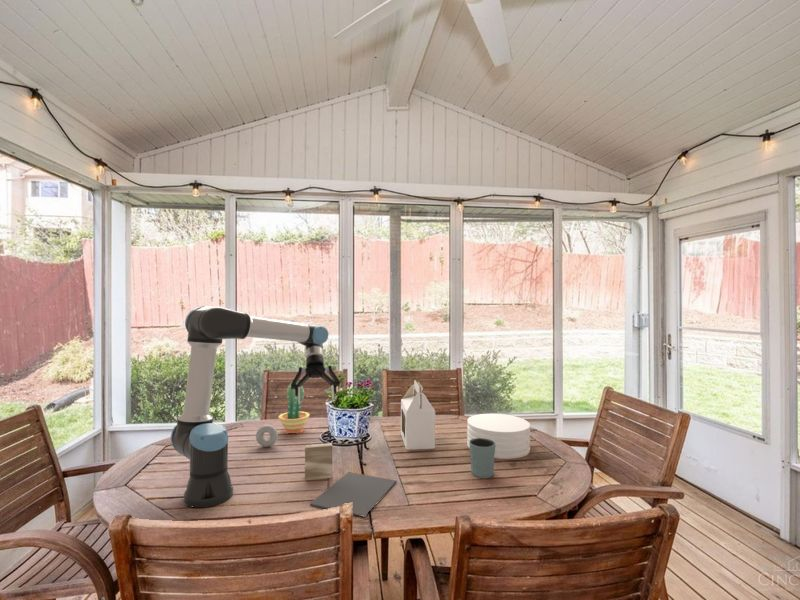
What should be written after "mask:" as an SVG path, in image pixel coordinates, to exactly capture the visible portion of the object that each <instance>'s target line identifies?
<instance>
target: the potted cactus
mask: <svg viewBox="0 0 800 600" xmlns="http://www.w3.org/2000/svg"><path fill="white" fill-rule="evenodd" d="M292 382H293V381H291V382H290V383H289V385H288V386H287V388H286V398H287V399H286V400H287V412H284V413H281V414H280V415H278V420H279V421H280V423H281V425H282V427H283V428H284V432H285V431H286V432H287V433H286V432H285V433H286V434H288V433H297V434H299V433H298V432H300V433H302V432H303V431H304V427H305V426H306V424H307V422H308V420H309V418H310V413H309V412H306V411H301V406H302V403H303V400H304V399H305V398H304V395H305V389H304V387H303V385H302V386H301V387H300V404H299V405H298V396H295V389H291V383H292ZM298 382H299V381H298ZM298 382H297V383H298ZM302 430H303V431H302ZM301 431H302V432H301Z"/></svg>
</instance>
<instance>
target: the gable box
mask: <svg viewBox="0 0 800 600" xmlns="http://www.w3.org/2000/svg"><path fill="white" fill-rule="evenodd" d="M424 389H425V388H424V387H423V385H422V384H421V383H420V382H419V381H417V380H416V379H414V382H413V384H412V385H410V386H409V387H408V389H407V390H406V393H405V394H404V395H403V396H402V398H401V399H400V434H401V438H402V441H403V444H404V447H405V450H407V451H412V450H435V449H436V410H435V408H434V407H433V406H432V405H433V404H431V403H430V401H429V400H428V398H427V396H426V394H424V393H423V391H424Z"/></svg>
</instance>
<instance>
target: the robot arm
mask: <svg viewBox="0 0 800 600" xmlns="http://www.w3.org/2000/svg"><path fill="white" fill-rule="evenodd" d="M184 327H185V329H186V331H187V341H186V342H187V344H189V346H190V355H189V361H188V362H189V364H188V372H187V378H186V379H187V381H186V387H185V395H184V402H183V412H182V413H181V414H180V415H179V416H178V417H177V420H176V425H175V426H174V427H173V428H172V431H171V433H170V443H171V446H172V447H173V449H174V450H175V451H176V452H178V453H179V454H180V455H182V456H184V457H186V458H187V459H188V460H189V479H188V481H187V485H186V489H185V490H184V493H183V504H184V503H185V504H186V505H188V506H193V507H204V508H207V507H206V506H210V507H213V505H214V506H217V505H219V504H220V505H221V504H222V503H224V502H226V501H227V500H229V499H231V497H232V496H233V495H234V486H233V483H232V480H231V477H230V475H229V471H228V469H229V467H228V466H229V465H228V462H229V459H228V458H229V435H228V429H227V427H226V426H225V425H222V424H220V423H213V422H214V416H213V415H212V414H211V413H210V409H211V402H212V401H211V400H212V394H213V393H212V392H213V383H214V376H215V366H216V360H217V359H216V357H217V352H218V351H217V350H218V347H220V346H221V345H222V343H223V340H230V339H234V340H237V339H238V340H245V339H246V338H256V339H257V338H258V339H265V340H267V339H268V340H277V341H288V342H296V343H299V344H300V345H302V346H304V347H305V366H306V367H305V368H303V367H302V366H300V367H299V368H298V371H297V373H296V375H295V377H294V379H292V381H291V382H292V383H291V382H290V384H291V389H295V396H298V405H299V404H300V387H301V386H302V387H303V385H304V384H305V383H306V382H307V381H308V380H310V378H311V379H315V378H316V379H319V378H321V379H322V380H324V381H325V382H326V383H328V385H330V386H331V387H330V388H331V389H330V390H331V403H334V402H335V395H336V394H337V387H340V386H341V381H340V379H339V378H338V376H337V375H336V374H335V372H334V370H333V368H332V366H331V365H328V367H327V366H326V367H325V361H324V346H323V344H324V343H326V342H327V341H328V339H329V330H328V328H326V326H323V325H315V324H307V323H301V322H298V321H296V320H290V321H286V320H279V319H272V318H271V319H270V318H264V317H258V316H251V315H250V314H249V313H247V312H243V311H237V310H233V309H229V308H227V307H223V306H210V305H203V306H202V305H201V306H199V307H195V308H193V309H191V310H190V311H189V313H188V314H187V315H186V317H185V321H184ZM326 372H327V373H328V374H329V375H328V374H326ZM304 373H305V375H304V376H303V377H302V378H301V376H302V375H303V374H304ZM300 378H301V379H300ZM297 382H298V383H297ZM185 504H184V505H185ZM186 505H185V506H186ZM188 506H187V507H188Z"/></svg>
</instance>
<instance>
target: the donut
mask: <svg viewBox="0 0 800 600" xmlns="http://www.w3.org/2000/svg"><path fill="white" fill-rule="evenodd" d="M255 433H256V434H255V440H256V442H257V443H258V445H260V446H262V447H263V448H264V447H265V448H270V447H272V446H274V445H275V444H276V443H277V441H278V438H279V434H278V429H277V428H275V427H274V426H273V425H271V424H264V425H262V426H260V427H259V428H258V429H257V431H256V432H255ZM266 433H268V434H269V436H270V437H269V438H268V439H267V438H265V436H264V435H265V434H266Z"/></svg>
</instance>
